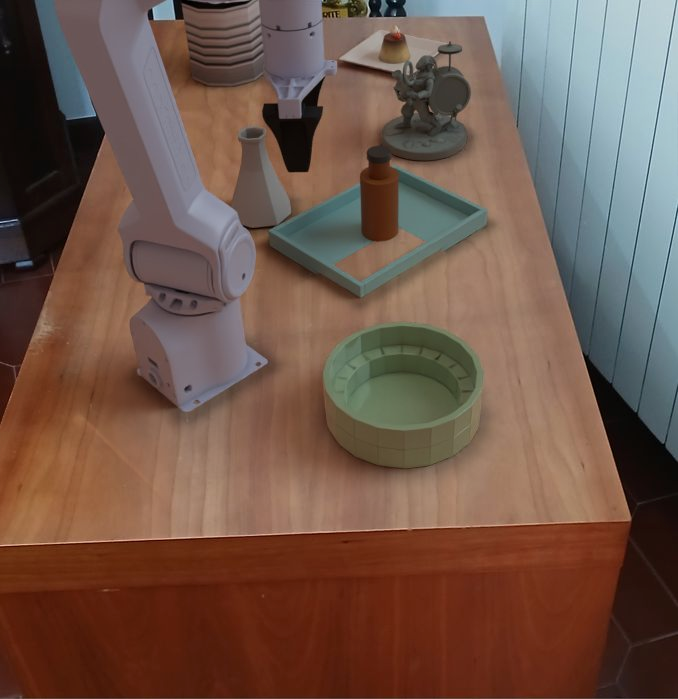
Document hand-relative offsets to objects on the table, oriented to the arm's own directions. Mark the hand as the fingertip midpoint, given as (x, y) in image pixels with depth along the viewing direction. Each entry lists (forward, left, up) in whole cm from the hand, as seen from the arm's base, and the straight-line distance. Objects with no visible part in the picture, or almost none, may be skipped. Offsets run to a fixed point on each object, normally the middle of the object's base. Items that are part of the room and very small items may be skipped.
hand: (301, 151), depth 94 cm
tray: (+6, -5, -10) cm, 13 cm away
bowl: (-12, -26, -10) cm, 31 cm away
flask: (0, +8, -11) cm, 13 cm away
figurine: (+25, +6, -11) cm, 27 cm away
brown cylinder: (+6, -5, -10) cm, 13 cm away
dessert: (+40, +26, -11) cm, 48 cm away
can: (+21, +41, -11) cm, 47 cm away
